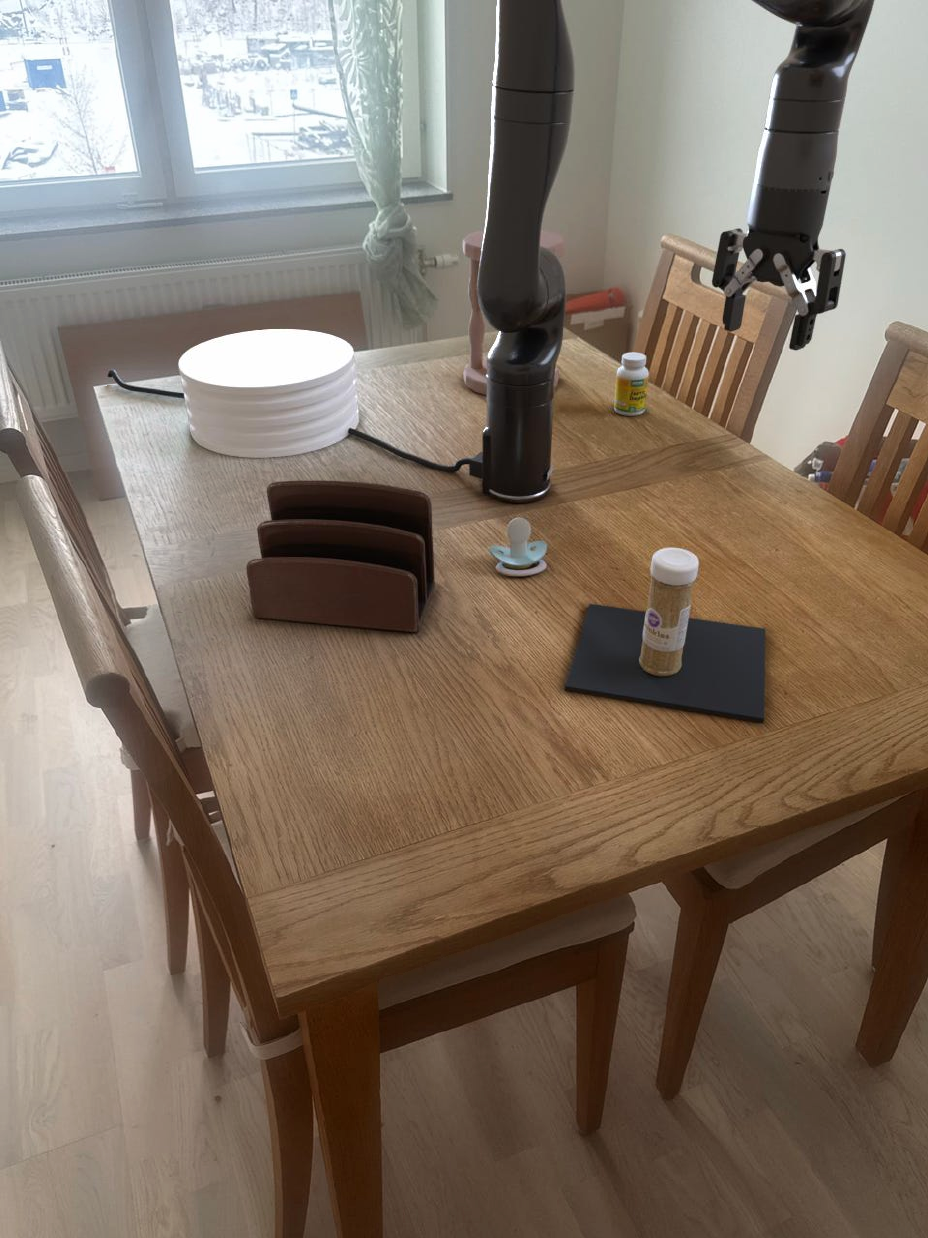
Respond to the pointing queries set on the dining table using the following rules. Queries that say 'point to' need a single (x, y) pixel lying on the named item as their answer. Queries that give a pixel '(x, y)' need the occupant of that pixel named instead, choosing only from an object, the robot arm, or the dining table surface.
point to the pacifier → (519, 551)
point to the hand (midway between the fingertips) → (763, 338)
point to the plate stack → (270, 392)
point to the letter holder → (344, 555)
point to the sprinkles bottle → (668, 610)
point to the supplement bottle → (631, 385)
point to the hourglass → (478, 364)
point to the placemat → (707, 681)
